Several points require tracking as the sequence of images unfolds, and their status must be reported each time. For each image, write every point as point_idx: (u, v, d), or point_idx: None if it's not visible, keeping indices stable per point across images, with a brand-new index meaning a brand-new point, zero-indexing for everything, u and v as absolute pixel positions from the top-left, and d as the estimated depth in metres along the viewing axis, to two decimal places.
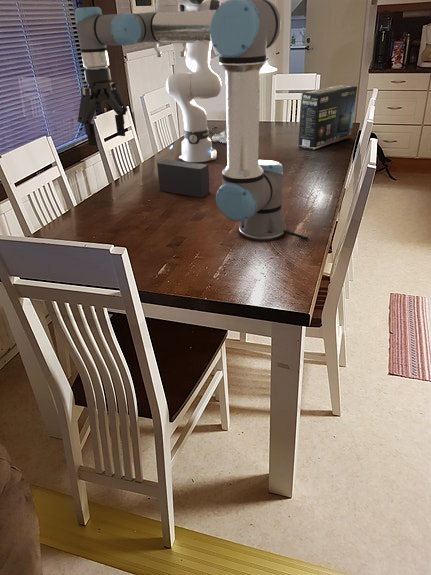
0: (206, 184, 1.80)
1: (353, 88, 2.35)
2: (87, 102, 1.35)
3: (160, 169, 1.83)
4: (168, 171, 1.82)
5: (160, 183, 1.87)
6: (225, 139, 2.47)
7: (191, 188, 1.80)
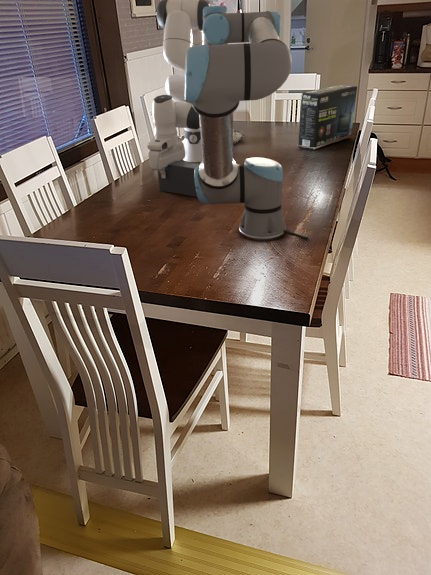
0: None
1: (353, 88, 2.35)
2: None
3: None
4: (168, 171, 1.82)
5: (160, 183, 1.87)
6: None
7: (191, 188, 1.80)
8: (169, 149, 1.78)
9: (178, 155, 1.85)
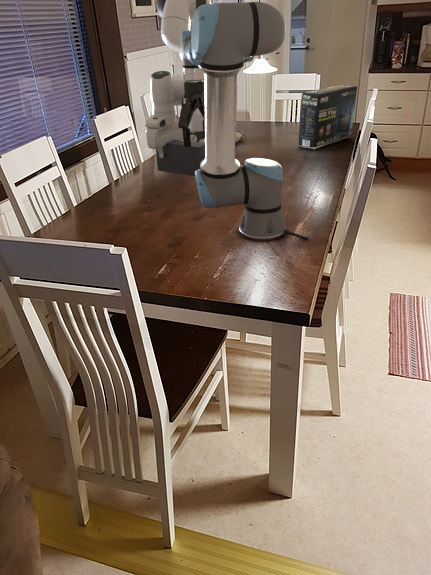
0: None
1: (353, 88, 2.35)
2: (186, 110, 1.59)
3: None
4: (166, 150, 1.78)
5: (158, 163, 1.83)
6: None
7: (190, 167, 1.76)
8: (167, 127, 1.74)
9: (177, 134, 1.81)
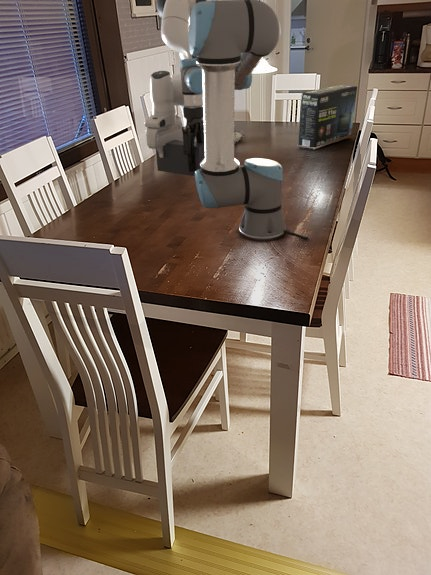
0: None
1: (353, 88, 2.35)
2: (188, 138, 1.66)
3: None
4: (166, 150, 1.78)
5: (158, 163, 1.83)
6: None
7: None
8: (167, 127, 1.74)
9: (177, 134, 1.81)
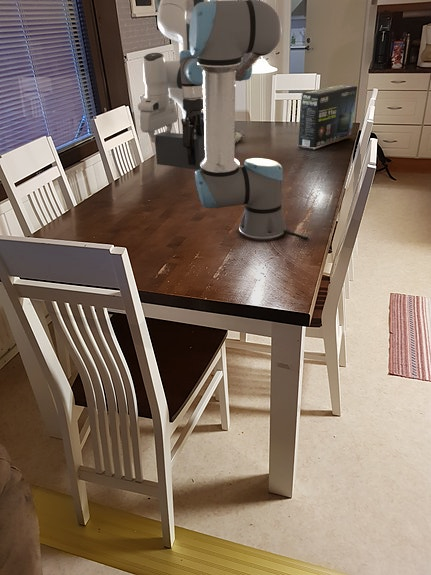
0: (204, 156, 1.74)
1: (353, 88, 2.35)
2: (188, 130, 1.65)
3: (157, 141, 1.78)
4: (165, 143, 1.76)
5: (157, 156, 1.81)
6: None
7: None
8: (160, 110, 1.72)
9: (170, 117, 1.79)
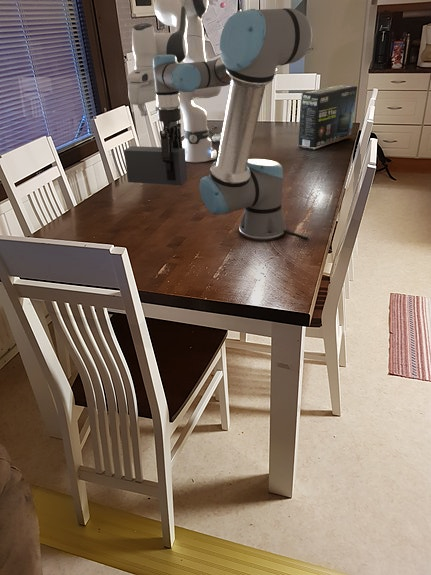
0: (183, 170, 1.60)
1: (353, 88, 2.35)
2: (168, 143, 1.50)
3: (128, 157, 1.60)
4: (138, 158, 1.59)
5: (128, 173, 1.63)
6: None
7: None
8: (150, 83, 1.69)
9: None
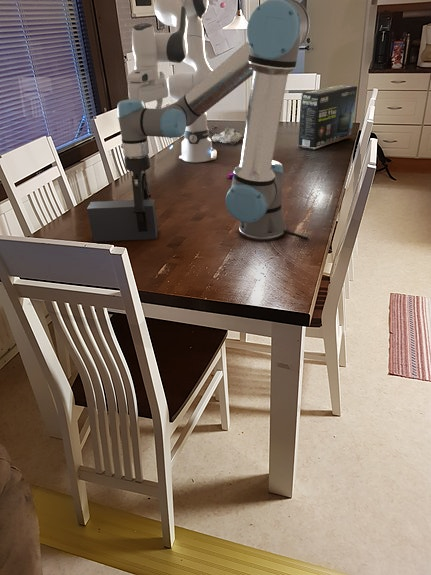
0: (155, 222, 1.49)
1: (353, 88, 2.35)
2: (141, 192, 1.36)
3: (92, 215, 1.43)
4: (105, 216, 1.44)
5: (93, 232, 1.46)
6: (225, 139, 2.47)
7: None
8: (150, 83, 1.69)
9: (161, 91, 1.76)
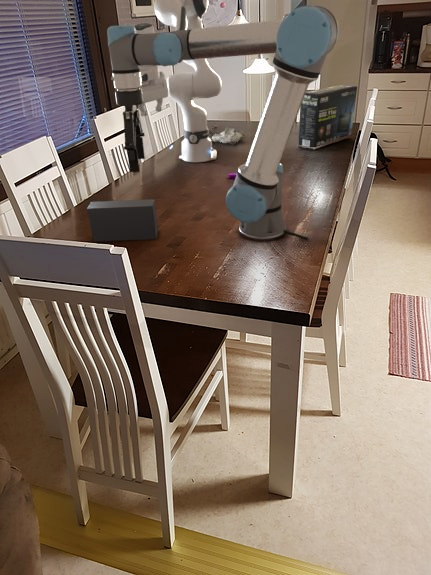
0: (155, 222, 1.49)
1: (353, 88, 2.35)
2: (133, 126, 1.26)
3: (92, 215, 1.43)
4: (105, 216, 1.44)
5: (93, 232, 1.46)
6: (225, 139, 2.47)
7: (141, 230, 1.46)
8: (150, 83, 1.69)
9: (161, 91, 1.76)
